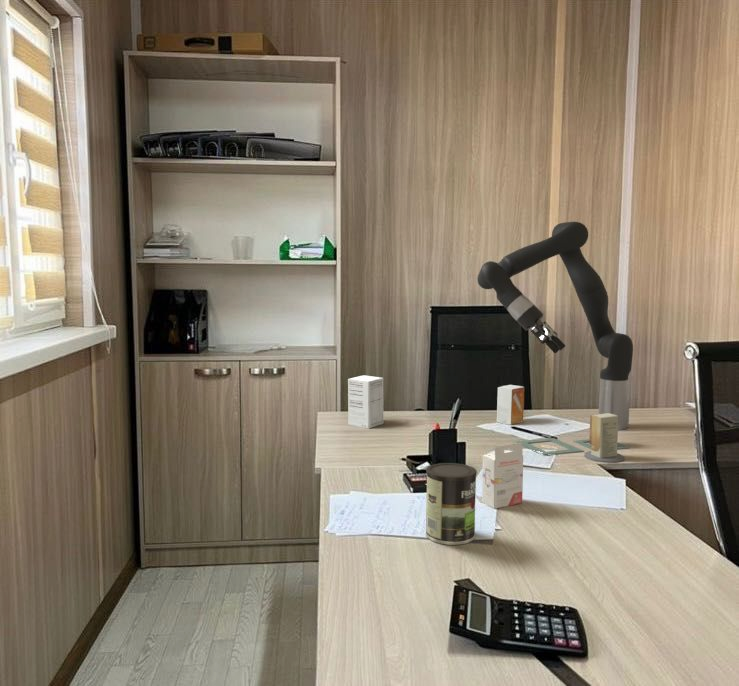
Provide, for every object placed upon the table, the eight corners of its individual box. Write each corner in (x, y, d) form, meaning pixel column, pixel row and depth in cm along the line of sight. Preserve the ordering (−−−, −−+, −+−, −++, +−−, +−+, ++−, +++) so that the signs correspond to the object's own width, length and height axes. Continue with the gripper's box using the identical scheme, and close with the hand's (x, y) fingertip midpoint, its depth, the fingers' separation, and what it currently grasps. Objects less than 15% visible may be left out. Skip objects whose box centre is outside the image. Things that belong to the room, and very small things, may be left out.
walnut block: (602, 442, 215) (603, 414, 214) (612, 446, 210) (614, 418, 209) (589, 443, 213) (590, 415, 212) (599, 447, 208) (600, 419, 207)
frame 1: (553, 439, 219) (553, 437, 219) (583, 451, 204) (583, 450, 204) (515, 442, 214) (515, 441, 214) (543, 455, 199) (543, 454, 199)
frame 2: (604, 439, 219) (604, 437, 219) (629, 448, 208) (629, 447, 208) (573, 442, 215) (573, 440, 215) (596, 451, 204) (596, 450, 204)
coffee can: (482, 532, 141) (484, 467, 140) (462, 549, 133) (464, 480, 131) (438, 522, 147) (439, 459, 145) (416, 538, 138) (417, 471, 136)
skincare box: (607, 452, 201) (609, 412, 199) (617, 456, 197) (619, 415, 195) (589, 454, 198) (591, 414, 197) (599, 458, 194) (601, 417, 193)
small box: (510, 425, 238) (512, 389, 236) (496, 422, 242) (497, 386, 241) (523, 421, 243) (524, 386, 242) (509, 419, 248) (510, 384, 247)
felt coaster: (607, 451, 205) (607, 449, 204) (632, 461, 194) (632, 458, 194) (576, 454, 201) (576, 452, 201) (600, 464, 191) (600, 462, 191)
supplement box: (363, 420, 245) (363, 374, 243) (384, 423, 240) (384, 377, 238) (347, 425, 237) (347, 378, 235) (368, 429, 232) (368, 380, 230)
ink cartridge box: (509, 497, 163) (510, 437, 162) (522, 503, 159) (524, 442, 157) (480, 502, 159) (482, 442, 158) (493, 509, 155) (495, 447, 153)
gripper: (528, 305, 206) (565, 344, 202) (538, 302, 218) (573, 339, 215) (510, 322, 209) (547, 360, 205) (521, 318, 221) (556, 355, 218)
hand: (560, 349), depth 210 cm, fingers open, 8 cm apart
